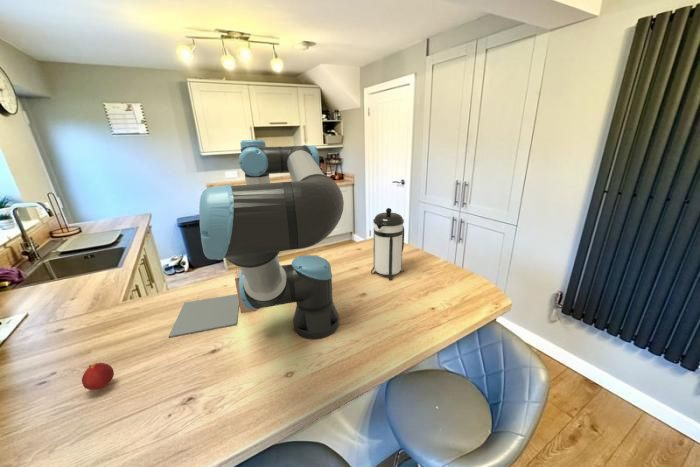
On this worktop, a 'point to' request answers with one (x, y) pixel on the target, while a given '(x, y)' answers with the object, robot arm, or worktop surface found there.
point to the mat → (206, 315)
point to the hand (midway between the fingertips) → (267, 255)
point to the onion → (97, 376)
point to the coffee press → (388, 243)
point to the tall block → (242, 307)
